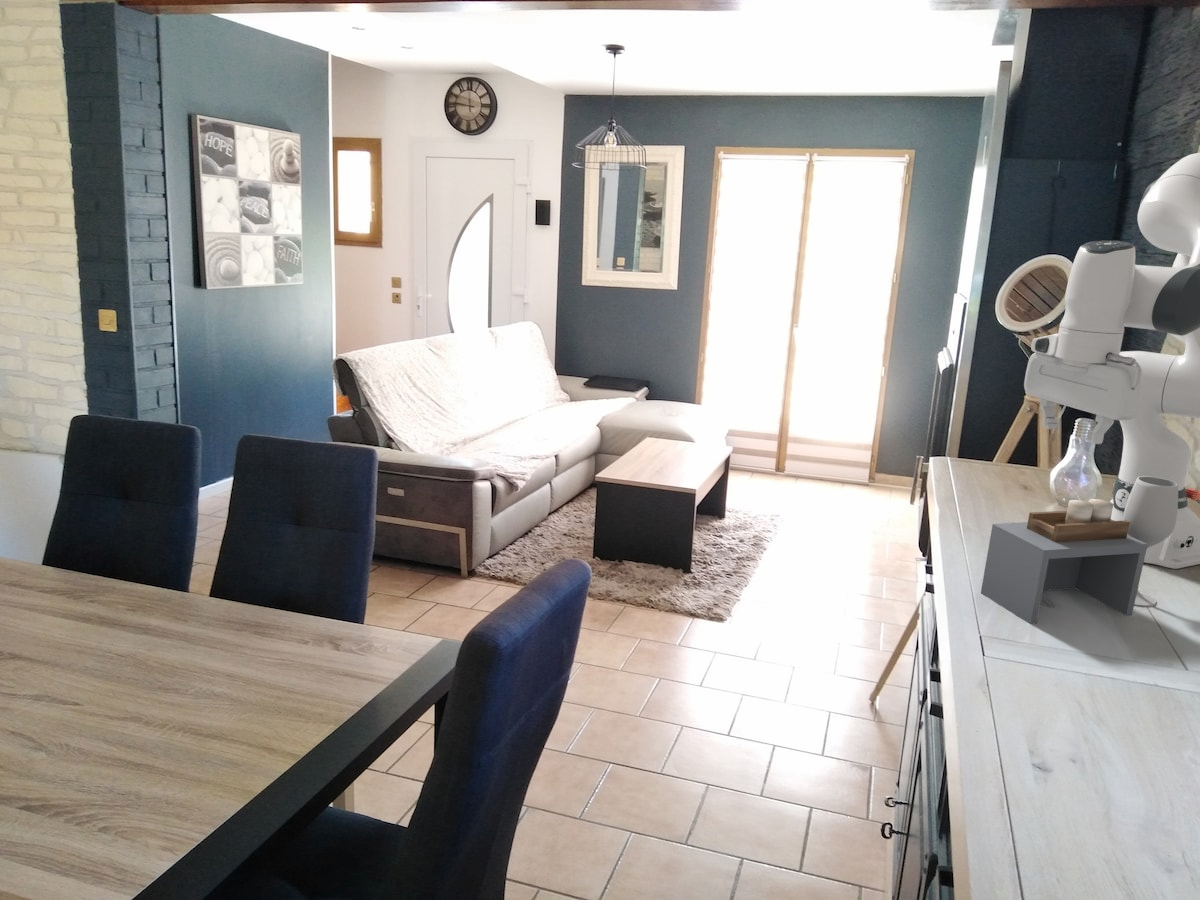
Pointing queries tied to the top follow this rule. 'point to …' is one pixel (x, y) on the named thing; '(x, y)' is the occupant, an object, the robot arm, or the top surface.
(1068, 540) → the tray
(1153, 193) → the robot arm
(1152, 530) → the wineglass
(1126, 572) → the grey cover
